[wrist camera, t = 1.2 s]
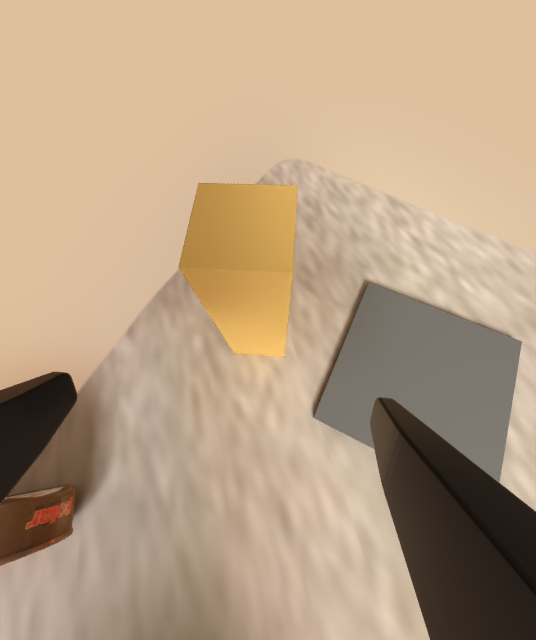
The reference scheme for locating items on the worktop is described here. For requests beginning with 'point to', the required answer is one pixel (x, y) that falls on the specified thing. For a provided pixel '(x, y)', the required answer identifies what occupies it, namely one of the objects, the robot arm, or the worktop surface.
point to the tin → (35, 521)
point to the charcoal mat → (424, 375)
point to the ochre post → (243, 262)
